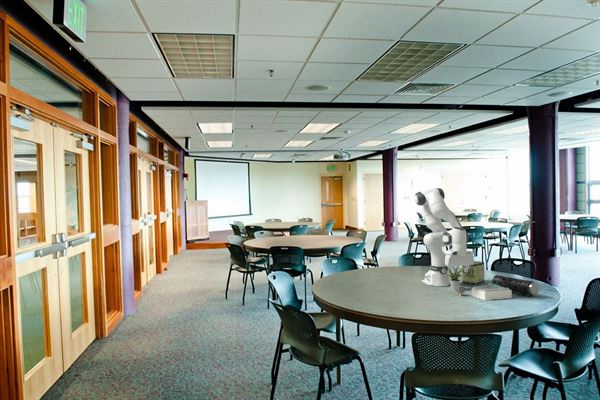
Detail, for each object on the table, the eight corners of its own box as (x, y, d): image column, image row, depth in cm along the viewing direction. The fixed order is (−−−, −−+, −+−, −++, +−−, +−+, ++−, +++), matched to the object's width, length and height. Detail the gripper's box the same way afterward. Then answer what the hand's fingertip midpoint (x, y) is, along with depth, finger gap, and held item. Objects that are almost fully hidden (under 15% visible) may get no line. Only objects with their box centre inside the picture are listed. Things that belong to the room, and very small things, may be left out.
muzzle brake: (501, 288, 274) (500, 273, 274) (540, 297, 249) (539, 281, 249) (491, 289, 270) (491, 275, 270) (530, 298, 244) (530, 282, 244)
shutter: (488, 287, 253) (488, 282, 253) (497, 286, 255) (497, 282, 255) (496, 290, 247) (495, 285, 247) (505, 289, 248) (505, 284, 248)
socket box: (472, 295, 253) (471, 286, 253) (497, 293, 258) (497, 284, 258) (485, 300, 242) (484, 290, 242) (511, 298, 247) (511, 288, 247)
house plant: (469, 292, 264) (468, 268, 264) (447, 291, 267) (447, 267, 267) (464, 287, 278) (464, 264, 278) (444, 286, 281) (443, 264, 281)
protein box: (461, 283, 292) (461, 262, 292) (471, 280, 302) (470, 260, 302) (475, 285, 284) (475, 264, 284) (484, 282, 294) (484, 261, 294)
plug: (455, 294, 257) (455, 285, 257) (460, 294, 258) (460, 285, 258) (459, 296, 253) (459, 286, 253) (464, 295, 254) (464, 286, 254)
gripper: (469, 250, 261) (470, 270, 261) (443, 251, 256) (443, 272, 256) (476, 251, 255) (476, 272, 255) (449, 252, 250) (449, 274, 250)
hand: (459, 272), depth 256 cm, fingers open, 8 cm apart
